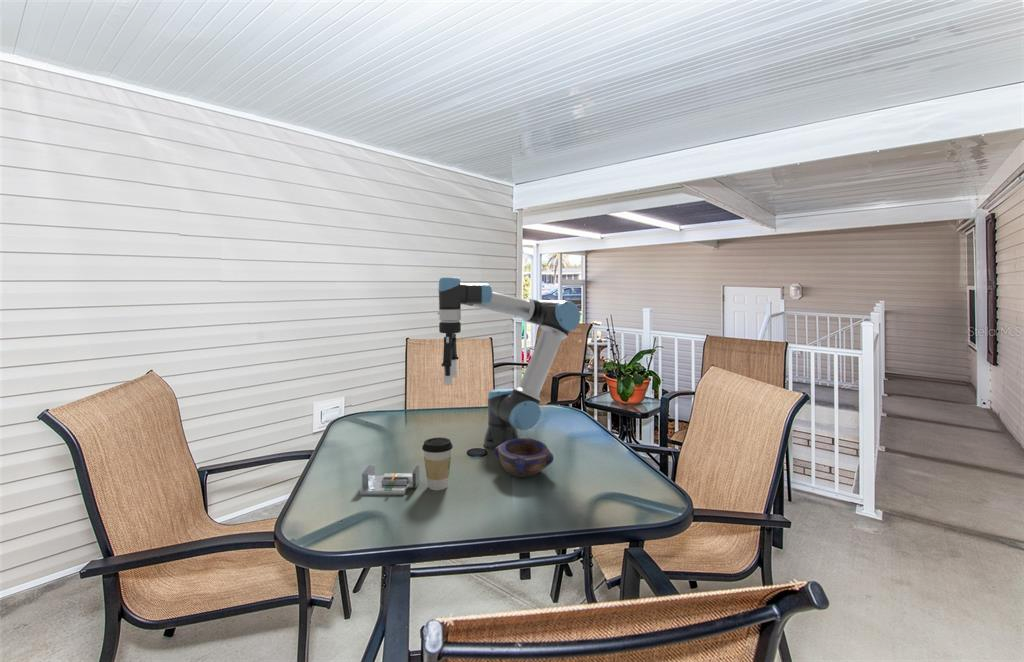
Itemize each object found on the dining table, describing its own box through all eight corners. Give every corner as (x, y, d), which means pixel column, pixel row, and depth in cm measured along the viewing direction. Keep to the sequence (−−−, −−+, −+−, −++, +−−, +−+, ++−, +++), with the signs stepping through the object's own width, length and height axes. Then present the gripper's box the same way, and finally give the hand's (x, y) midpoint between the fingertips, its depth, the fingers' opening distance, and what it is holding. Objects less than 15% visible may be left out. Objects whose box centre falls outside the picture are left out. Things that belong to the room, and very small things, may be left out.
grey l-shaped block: (412, 478, 156) (412, 462, 156) (404, 494, 144) (404, 477, 144) (371, 479, 156) (370, 463, 155) (359, 494, 144) (359, 477, 143)
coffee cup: (458, 482, 153) (457, 438, 152) (444, 494, 144) (443, 448, 143) (432, 478, 156) (431, 435, 155) (416, 490, 147) (416, 444, 146)
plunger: (419, 480, 153) (419, 466, 153) (414, 490, 145) (414, 475, 145) (386, 480, 153) (386, 466, 152) (379, 491, 145) (379, 475, 145)
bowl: (513, 487, 149) (513, 457, 148) (489, 468, 165) (489, 441, 164) (559, 477, 158) (559, 449, 157) (532, 460, 173) (533, 434, 173)
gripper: (444, 319, 174) (444, 374, 176) (433, 324, 149) (434, 388, 151) (464, 319, 174) (464, 374, 176) (456, 324, 149) (457, 388, 151)
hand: (450, 381), depth 163 cm, fingers open, 13 cm apart
